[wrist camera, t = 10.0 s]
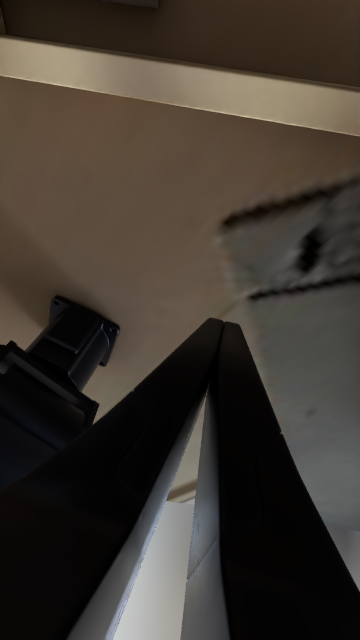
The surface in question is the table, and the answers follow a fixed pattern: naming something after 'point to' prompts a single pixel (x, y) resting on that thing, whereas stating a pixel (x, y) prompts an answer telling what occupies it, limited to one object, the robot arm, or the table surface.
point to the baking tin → (137, 2)
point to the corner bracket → (183, 83)
